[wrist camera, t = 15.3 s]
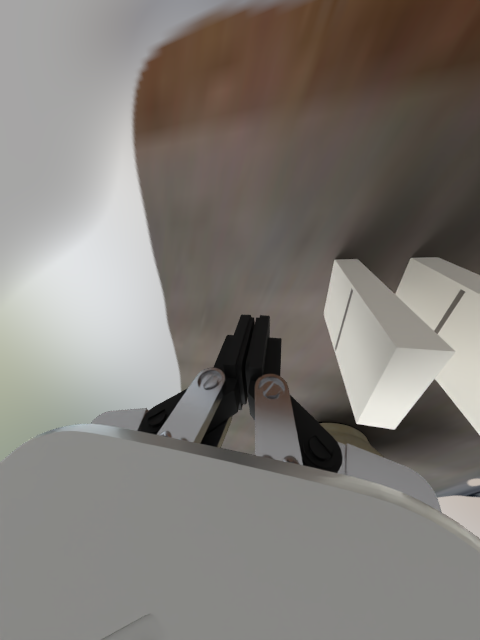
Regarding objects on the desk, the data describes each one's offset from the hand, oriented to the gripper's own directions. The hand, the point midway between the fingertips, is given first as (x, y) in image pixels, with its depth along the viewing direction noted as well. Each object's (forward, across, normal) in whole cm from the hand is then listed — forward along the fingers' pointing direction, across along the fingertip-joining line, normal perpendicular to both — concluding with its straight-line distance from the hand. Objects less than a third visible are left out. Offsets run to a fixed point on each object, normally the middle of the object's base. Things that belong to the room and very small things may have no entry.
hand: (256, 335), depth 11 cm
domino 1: (+7, -6, 0) cm, 9 cm away
